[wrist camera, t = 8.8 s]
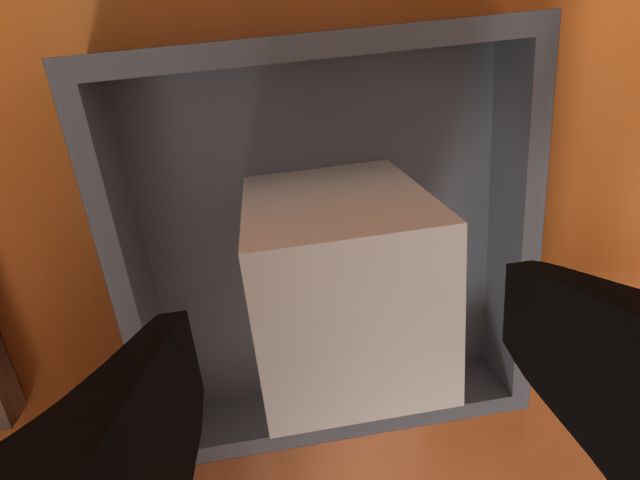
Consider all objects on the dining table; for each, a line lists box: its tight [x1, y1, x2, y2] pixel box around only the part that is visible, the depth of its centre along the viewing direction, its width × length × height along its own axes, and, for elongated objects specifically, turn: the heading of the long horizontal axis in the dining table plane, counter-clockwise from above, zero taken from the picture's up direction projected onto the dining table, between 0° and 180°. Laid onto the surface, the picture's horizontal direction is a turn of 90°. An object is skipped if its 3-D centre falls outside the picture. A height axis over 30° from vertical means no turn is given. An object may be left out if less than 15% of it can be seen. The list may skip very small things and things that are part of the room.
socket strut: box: [238, 160, 467, 439], centre depth 13 cm, size 4×4×6 cm
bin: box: [42, 8, 561, 465], centre depth 15 cm, size 12×12×3 cm
